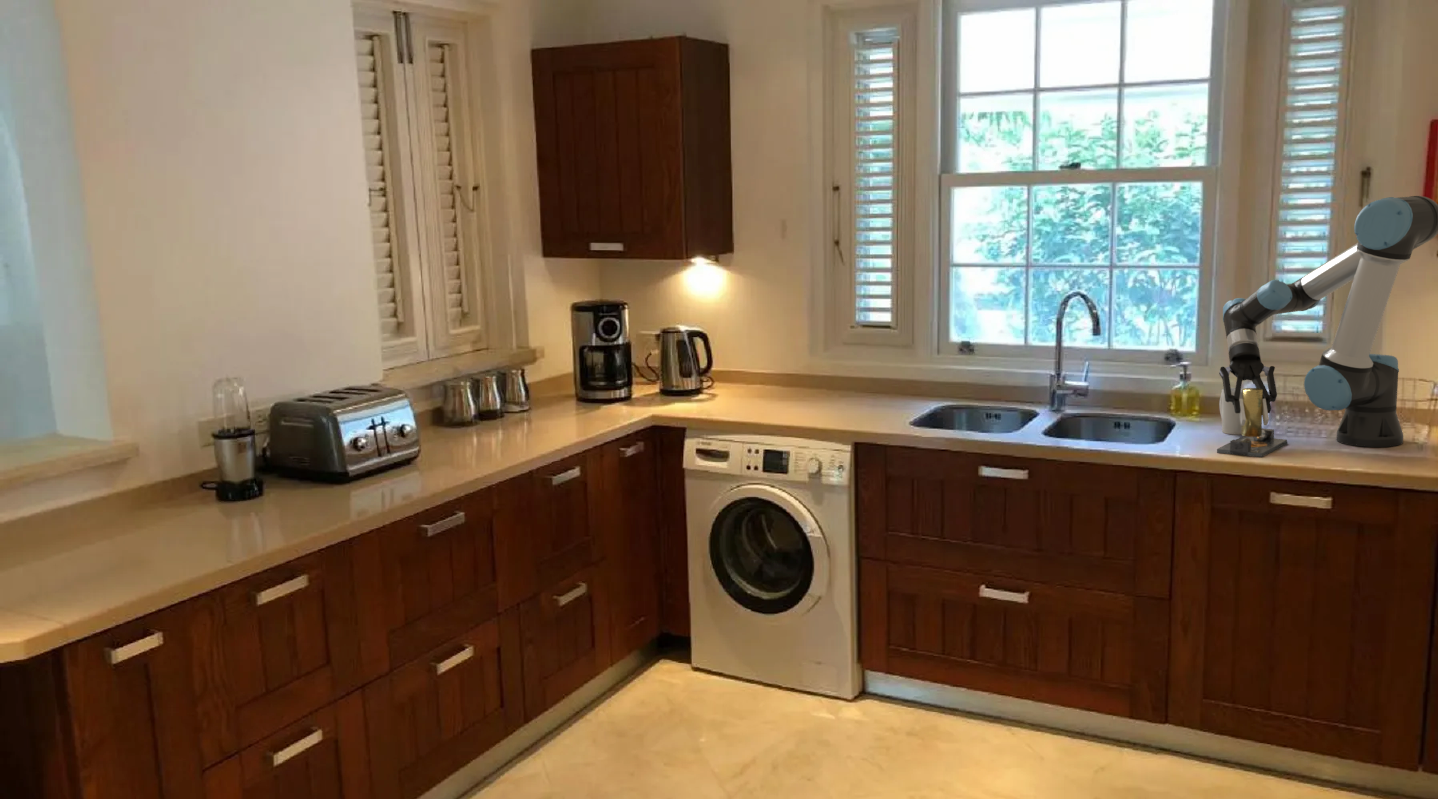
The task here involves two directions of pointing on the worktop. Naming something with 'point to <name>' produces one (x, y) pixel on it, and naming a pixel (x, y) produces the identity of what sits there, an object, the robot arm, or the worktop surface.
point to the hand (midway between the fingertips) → (1254, 422)
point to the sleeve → (1252, 412)
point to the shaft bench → (1253, 445)
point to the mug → (1229, 415)
